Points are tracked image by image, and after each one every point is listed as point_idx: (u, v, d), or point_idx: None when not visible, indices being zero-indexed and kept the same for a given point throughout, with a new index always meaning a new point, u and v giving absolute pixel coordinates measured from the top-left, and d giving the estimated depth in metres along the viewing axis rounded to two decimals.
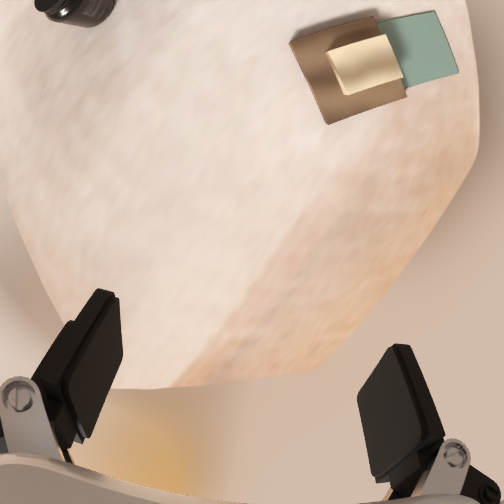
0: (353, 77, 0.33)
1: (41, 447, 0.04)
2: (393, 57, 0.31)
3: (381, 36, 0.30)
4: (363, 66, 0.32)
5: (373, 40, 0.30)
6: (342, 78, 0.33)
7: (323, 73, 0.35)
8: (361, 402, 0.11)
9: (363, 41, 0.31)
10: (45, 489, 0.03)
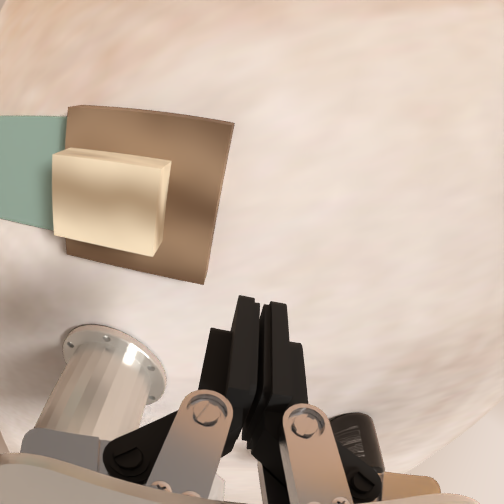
0: (135, 194, 0.19)
1: (198, 465, 0.05)
2: (55, 194, 0.19)
3: (61, 234, 0.20)
4: (108, 202, 0.19)
5: (75, 234, 0.20)
6: (155, 202, 0.19)
7: (183, 213, 0.22)
8: None
9: (91, 241, 0.20)
10: (45, 489, 0.03)
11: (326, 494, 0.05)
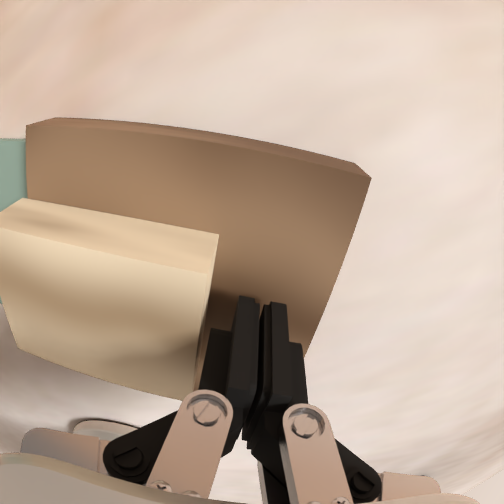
0: (151, 316, 0.09)
1: (198, 465, 0.05)
2: (3, 292, 0.09)
3: (28, 350, 0.11)
4: (99, 322, 0.09)
5: (50, 356, 0.11)
6: (194, 333, 0.09)
7: None
8: None
9: (78, 369, 0.11)
10: (45, 489, 0.03)
11: (326, 494, 0.05)
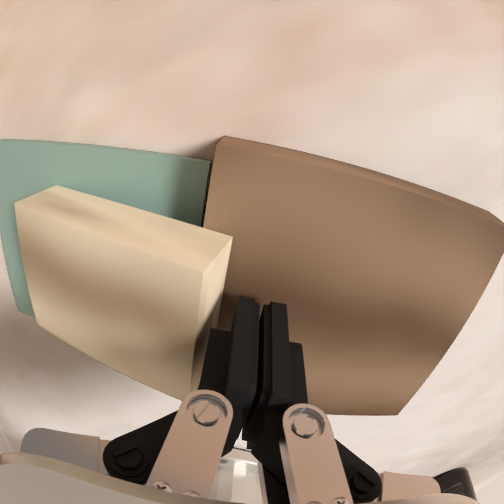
0: (151, 308, 0.09)
1: (198, 465, 0.05)
2: (27, 269, 0.11)
3: (46, 328, 0.12)
4: (106, 308, 0.10)
5: (64, 336, 0.12)
6: (191, 332, 0.09)
7: (413, 347, 0.13)
8: None
9: (87, 352, 0.12)
10: (45, 489, 0.03)
11: (326, 494, 0.05)
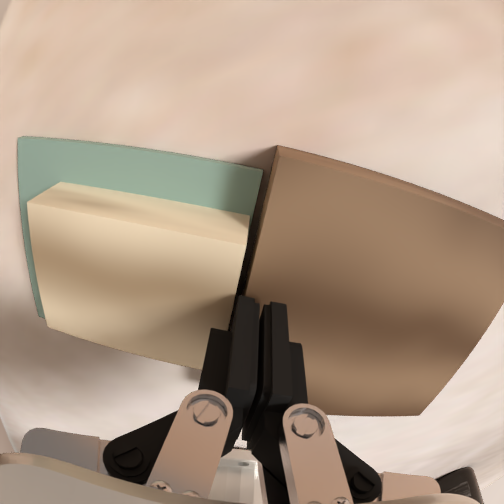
0: (191, 286, 0.11)
1: (198, 465, 0.05)
2: (40, 270, 0.11)
3: (58, 328, 0.12)
4: (138, 294, 0.11)
5: (82, 332, 0.12)
6: (229, 301, 0.11)
7: (441, 351, 0.13)
8: None
9: (110, 344, 0.12)
10: (45, 489, 0.03)
11: (326, 494, 0.05)
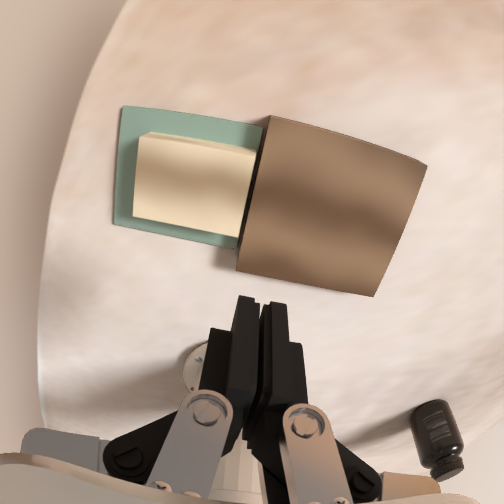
0: (227, 178, 0.21)
1: (198, 465, 0.05)
2: (139, 176, 0.21)
3: (141, 215, 0.23)
4: (199, 185, 0.21)
5: (157, 216, 0.23)
6: (246, 187, 0.21)
7: (375, 236, 0.24)
8: None
9: (174, 222, 0.23)
10: (45, 489, 0.03)
11: (326, 494, 0.05)
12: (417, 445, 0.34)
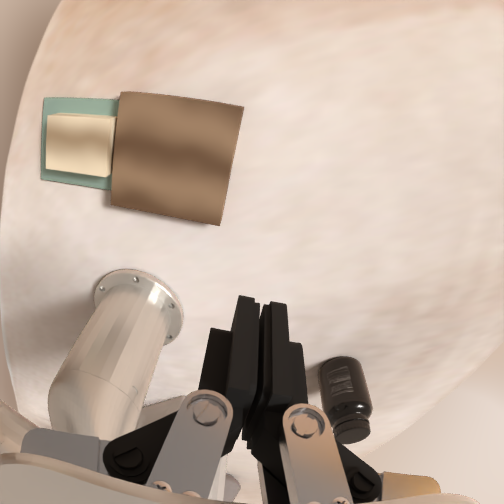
0: (95, 136, 0.27)
1: (198, 465, 0.05)
2: (48, 141, 0.28)
3: (50, 167, 0.29)
4: (80, 143, 0.28)
5: (59, 167, 0.29)
6: (106, 140, 0.28)
7: (206, 170, 0.30)
8: None
9: (68, 170, 0.29)
10: (45, 489, 0.03)
11: (326, 494, 0.05)
12: (321, 401, 0.41)
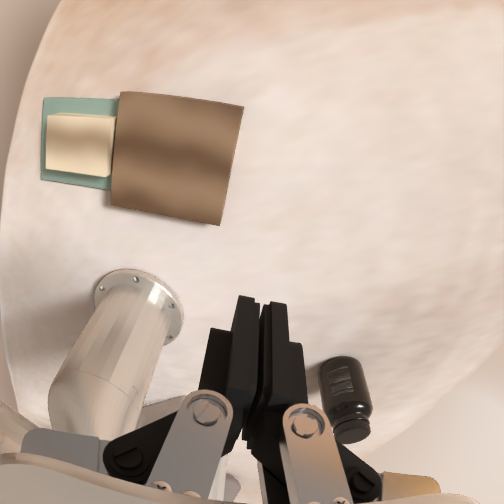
0: (95, 136, 0.27)
1: (198, 465, 0.05)
2: (48, 141, 0.28)
3: (50, 167, 0.29)
4: (80, 143, 0.28)
5: (59, 167, 0.29)
6: (106, 140, 0.28)
7: (206, 170, 0.30)
8: None
9: (68, 170, 0.29)
10: (45, 488, 0.03)
11: (326, 494, 0.05)
12: None
